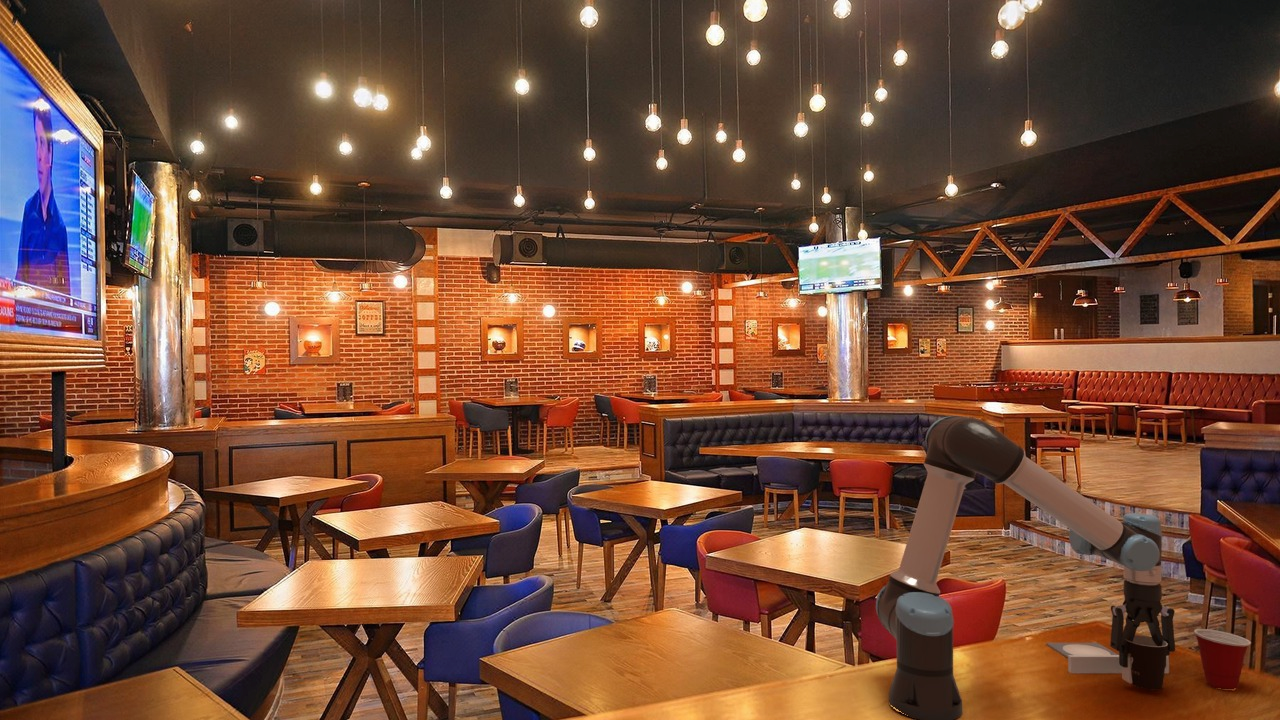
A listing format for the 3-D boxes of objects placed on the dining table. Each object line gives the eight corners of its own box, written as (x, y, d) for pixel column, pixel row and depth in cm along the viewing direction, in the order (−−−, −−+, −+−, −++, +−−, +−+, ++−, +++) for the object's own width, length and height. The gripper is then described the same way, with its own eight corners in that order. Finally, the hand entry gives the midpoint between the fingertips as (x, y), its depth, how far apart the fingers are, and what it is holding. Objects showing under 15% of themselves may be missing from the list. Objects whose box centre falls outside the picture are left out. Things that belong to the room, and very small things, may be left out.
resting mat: (1074, 662, 202) (1074, 660, 202) (1046, 644, 216) (1046, 642, 216) (1129, 662, 202) (1129, 660, 202) (1097, 644, 216) (1097, 642, 216)
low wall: (1071, 673, 194) (1070, 656, 195) (1068, 671, 196) (1068, 655, 196) (1169, 673, 195) (1168, 656, 195) (1165, 671, 196) (1165, 655, 196)
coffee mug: (1169, 694, 178) (1168, 649, 178) (1123, 686, 183) (1123, 642, 183) (1167, 678, 188) (1166, 635, 188) (1124, 671, 192) (1124, 629, 193)
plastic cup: (1262, 697, 180) (1261, 643, 180) (1208, 693, 182) (1207, 640, 182) (1236, 679, 190) (1235, 629, 191) (1186, 676, 193) (1185, 626, 193)
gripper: (1110, 584, 182) (1110, 686, 181) (1194, 586, 182) (1195, 688, 181) (1091, 576, 190) (1091, 674, 189) (1172, 577, 190) (1173, 676, 189)
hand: (1142, 681), depth 185 cm, fingers closed on coffee mug, 6 cm apart
